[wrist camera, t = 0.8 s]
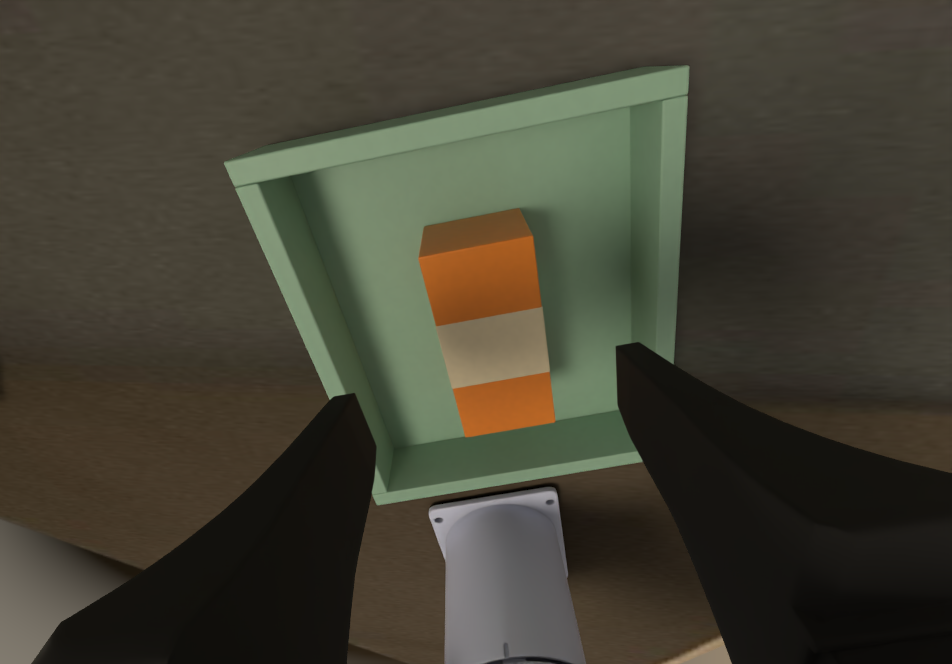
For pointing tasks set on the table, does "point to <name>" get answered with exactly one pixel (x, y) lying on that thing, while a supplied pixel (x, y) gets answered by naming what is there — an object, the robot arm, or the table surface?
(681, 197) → the tub
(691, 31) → the table surface
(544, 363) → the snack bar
